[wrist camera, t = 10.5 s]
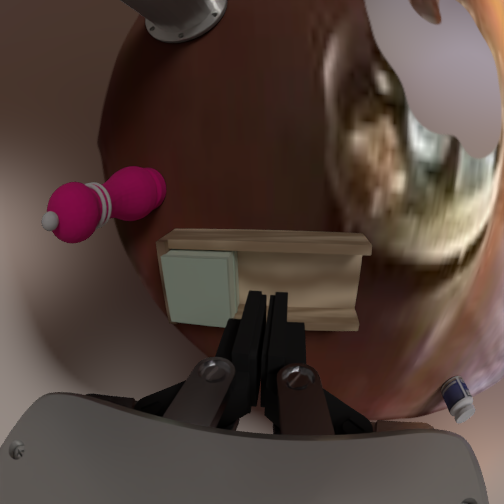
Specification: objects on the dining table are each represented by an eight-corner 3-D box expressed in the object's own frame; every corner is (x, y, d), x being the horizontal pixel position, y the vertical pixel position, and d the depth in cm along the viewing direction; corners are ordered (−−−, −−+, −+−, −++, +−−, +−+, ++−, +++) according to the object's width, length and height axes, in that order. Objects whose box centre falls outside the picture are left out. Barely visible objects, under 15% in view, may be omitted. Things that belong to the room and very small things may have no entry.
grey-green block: (180, 241, 37) (160, 256, 32) (237, 242, 36) (226, 259, 30) (187, 299, 40) (171, 321, 35) (240, 303, 39) (230, 327, 33)
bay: (175, 228, 38) (155, 241, 33) (362, 233, 34) (374, 248, 29) (184, 302, 42) (169, 323, 37) (351, 310, 38) (359, 335, 33)
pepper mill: (166, 218, 38) (70, 273, 19) (125, 207, 38) (25, 250, 20) (173, 168, 35) (69, 188, 17) (131, 161, 36) (23, 178, 17)
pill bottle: (437, 395, 43) (450, 428, 33) (444, 378, 41) (459, 412, 32) (457, 389, 41) (471, 420, 32) (464, 372, 40) (481, 403, 30)
